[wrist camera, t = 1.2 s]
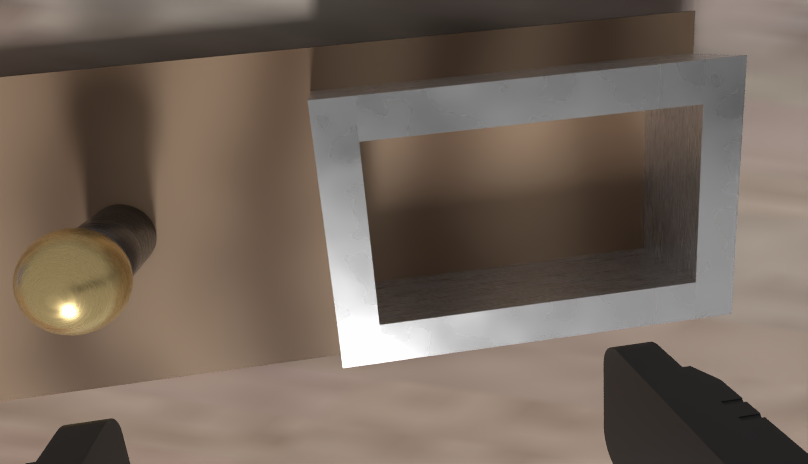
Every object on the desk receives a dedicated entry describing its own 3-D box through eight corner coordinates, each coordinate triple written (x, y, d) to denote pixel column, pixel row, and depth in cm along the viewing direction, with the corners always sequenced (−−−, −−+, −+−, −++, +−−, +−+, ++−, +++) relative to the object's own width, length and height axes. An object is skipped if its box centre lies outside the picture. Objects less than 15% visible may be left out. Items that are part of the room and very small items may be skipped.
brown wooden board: (677, 11, 25) (694, 10, 24) (669, 296, 29) (683, 307, 28) (-201, 96, 22) (-229, 99, 21) (-93, 400, 26) (-112, 416, 25)
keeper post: (158, 188, 24) (100, 239, 17) (175, 270, 24) (125, 346, 18) (67, 198, 23) (-24, 254, 17) (88, 281, 24) (8, 361, 18)
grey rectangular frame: (680, 53, 24) (746, 55, 21) (673, 275, 27) (731, 313, 23) (310, 91, 23) (307, 100, 19) (340, 320, 26) (342, 368, 22)
